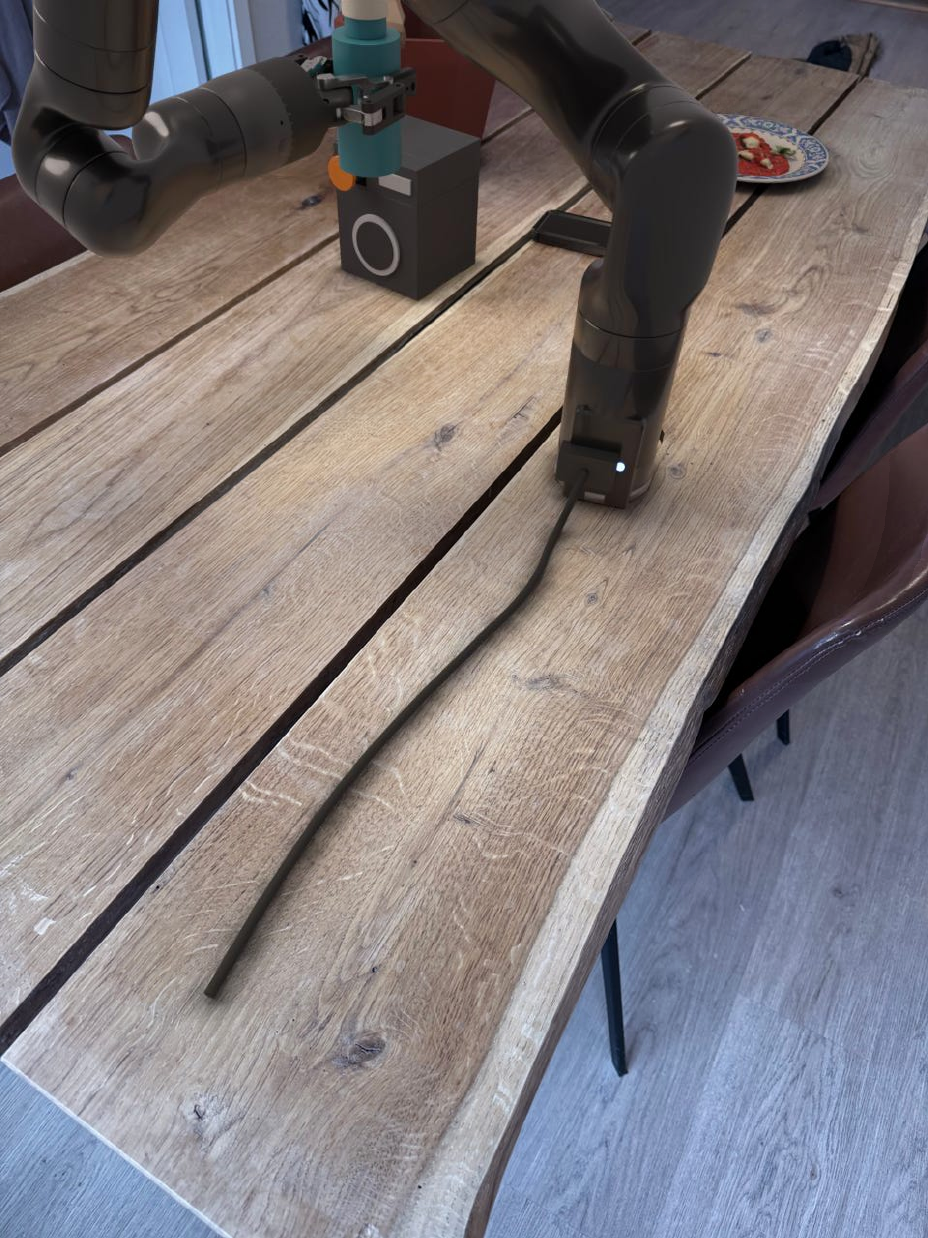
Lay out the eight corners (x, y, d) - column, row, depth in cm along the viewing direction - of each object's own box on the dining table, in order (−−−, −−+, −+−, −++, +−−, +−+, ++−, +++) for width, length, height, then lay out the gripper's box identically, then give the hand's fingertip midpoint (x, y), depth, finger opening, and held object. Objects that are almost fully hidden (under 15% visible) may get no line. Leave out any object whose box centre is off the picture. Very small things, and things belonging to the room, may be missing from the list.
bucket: (421, 207, 125) (421, -6, 107) (305, 163, 134) (286, -42, 115) (522, 154, 139) (537, -43, 120) (410, 117, 147) (408, -73, 128)
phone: (549, 207, 124) (655, 231, 120) (548, 216, 125) (653, 239, 121) (528, 231, 119) (638, 256, 115) (527, 239, 120) (636, 264, 116)
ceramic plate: (653, 184, 133) (657, 163, 131) (659, 121, 150) (662, 101, 148) (831, 204, 131) (838, 183, 128) (817, 137, 148) (823, 118, 146)
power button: (353, 194, 101) (351, 161, 99) (329, 185, 103) (326, 152, 100) (375, 183, 103) (374, 150, 101) (351, 175, 105) (349, 142, 102)
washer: (414, 302, 108) (413, 172, 97) (338, 270, 112) (329, 142, 101) (475, 263, 115) (481, 138, 104) (401, 235, 119) (399, 112, 108)
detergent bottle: (390, 181, 85) (386, -1, 74) (329, 171, 86) (317, -10, 75) (409, 157, 89) (409, -19, 78) (352, 148, 90) (343, -27, 79)
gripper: (317, 91, 68) (448, 41, 78) (184, 49, 74) (322, 7, 83) (325, 193, 74) (446, 134, 83) (200, 147, 79) (328, 97, 89)
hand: (384, 71), depth 83 cm, fingers closed on detergent bottle, 6 cm apart
